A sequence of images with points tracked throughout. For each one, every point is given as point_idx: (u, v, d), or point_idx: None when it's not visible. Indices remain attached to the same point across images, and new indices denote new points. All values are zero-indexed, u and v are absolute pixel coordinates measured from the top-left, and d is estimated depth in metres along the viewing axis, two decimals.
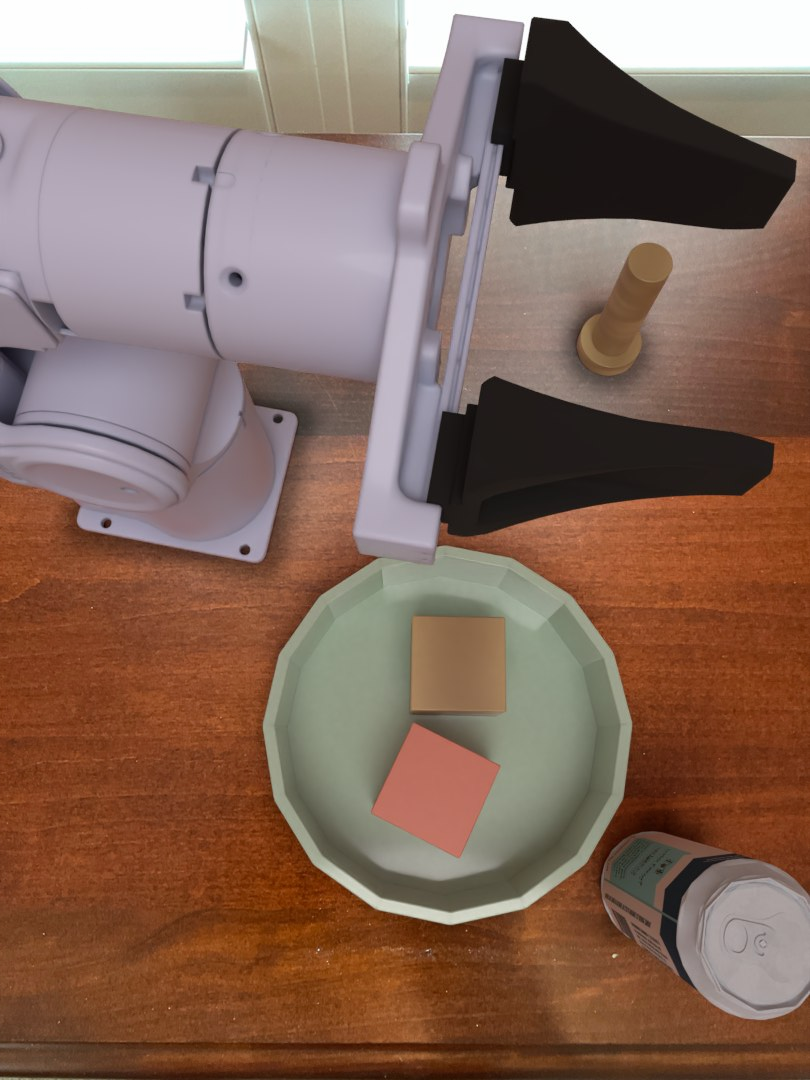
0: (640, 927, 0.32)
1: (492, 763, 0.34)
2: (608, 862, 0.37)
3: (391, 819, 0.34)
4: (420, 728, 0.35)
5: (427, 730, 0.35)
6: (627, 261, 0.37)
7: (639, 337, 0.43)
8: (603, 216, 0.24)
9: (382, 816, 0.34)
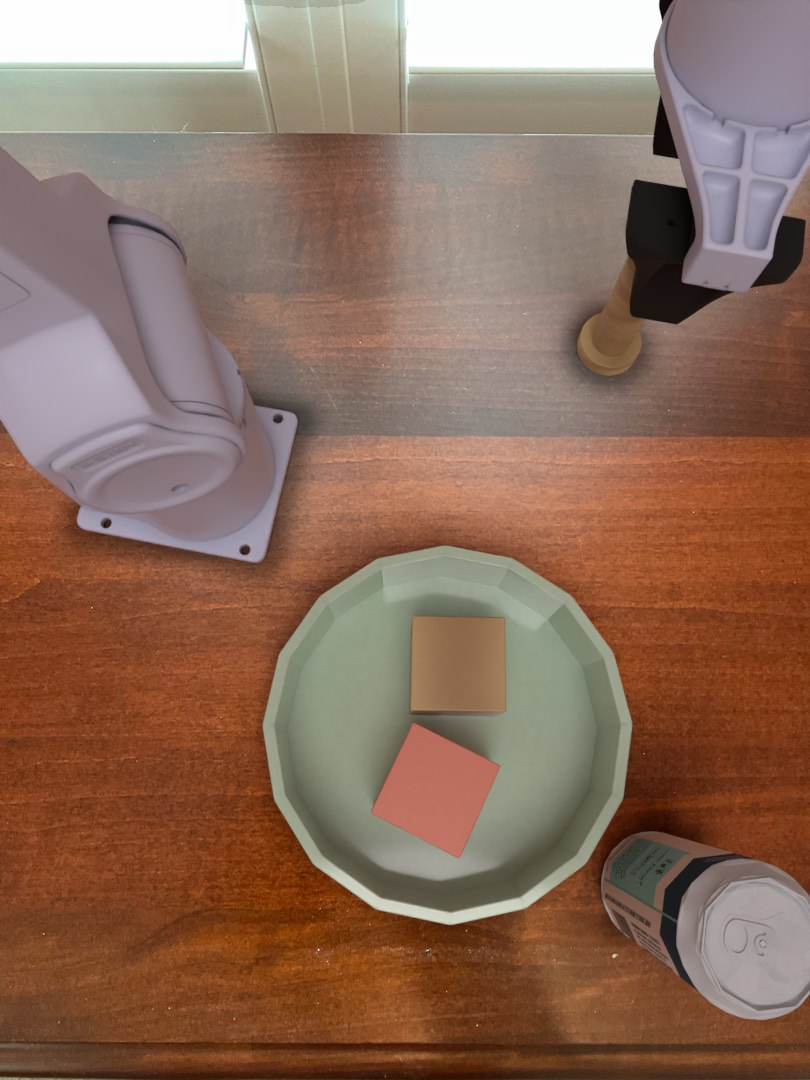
0: (640, 927, 0.32)
1: (492, 763, 0.34)
2: (608, 862, 0.37)
3: (391, 819, 0.34)
4: (420, 728, 0.35)
5: (427, 730, 0.35)
6: (627, 261, 0.37)
7: (639, 337, 0.43)
8: None
9: (382, 816, 0.34)
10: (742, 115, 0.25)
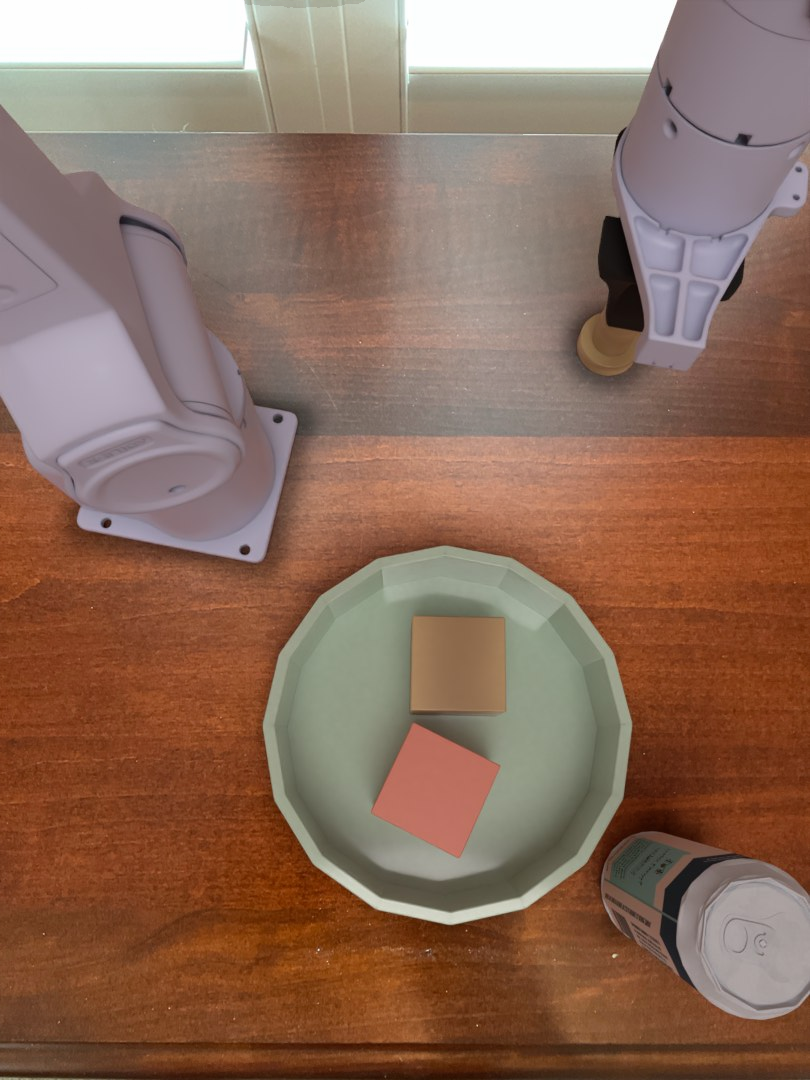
0: (640, 927, 0.32)
1: (492, 763, 0.34)
2: (608, 862, 0.37)
3: (391, 819, 0.34)
4: (420, 728, 0.35)
5: (427, 730, 0.35)
6: None
7: None
8: None
9: (382, 816, 0.34)
10: (682, 227, 0.30)
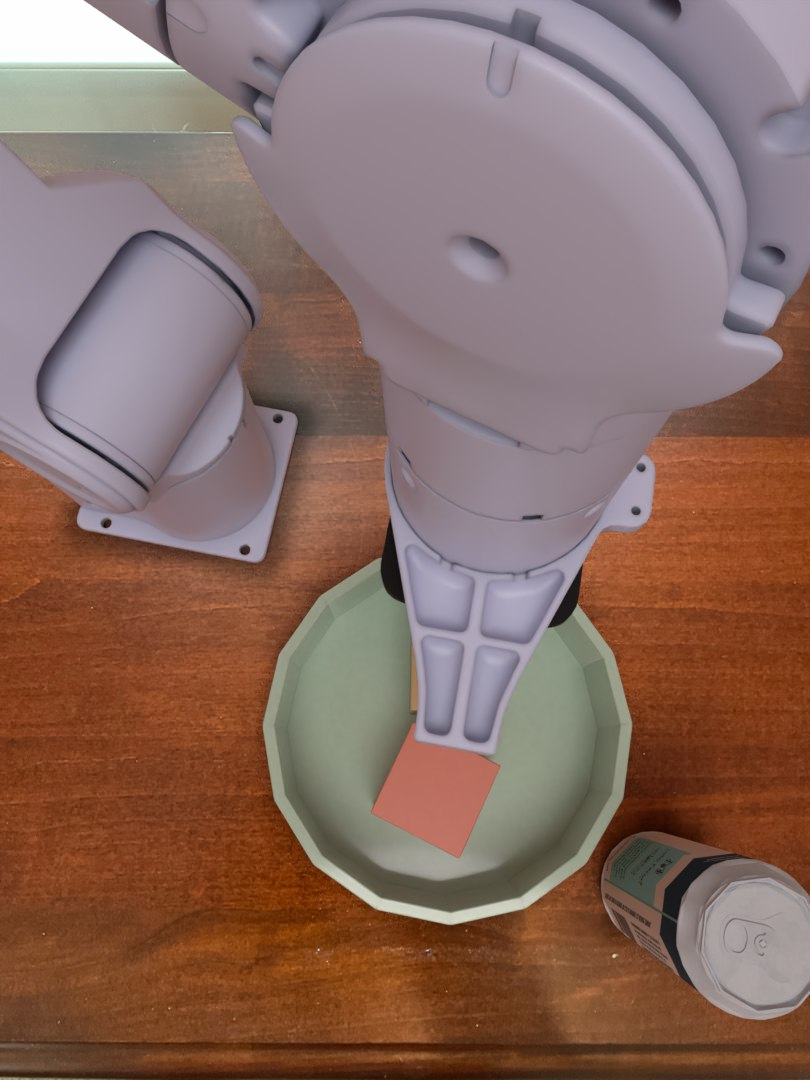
0: (640, 927, 0.32)
1: (492, 763, 0.34)
2: (608, 862, 0.37)
3: (391, 819, 0.34)
4: None
5: None
6: None
7: None
8: None
9: (382, 816, 0.34)
10: (469, 565, 0.21)
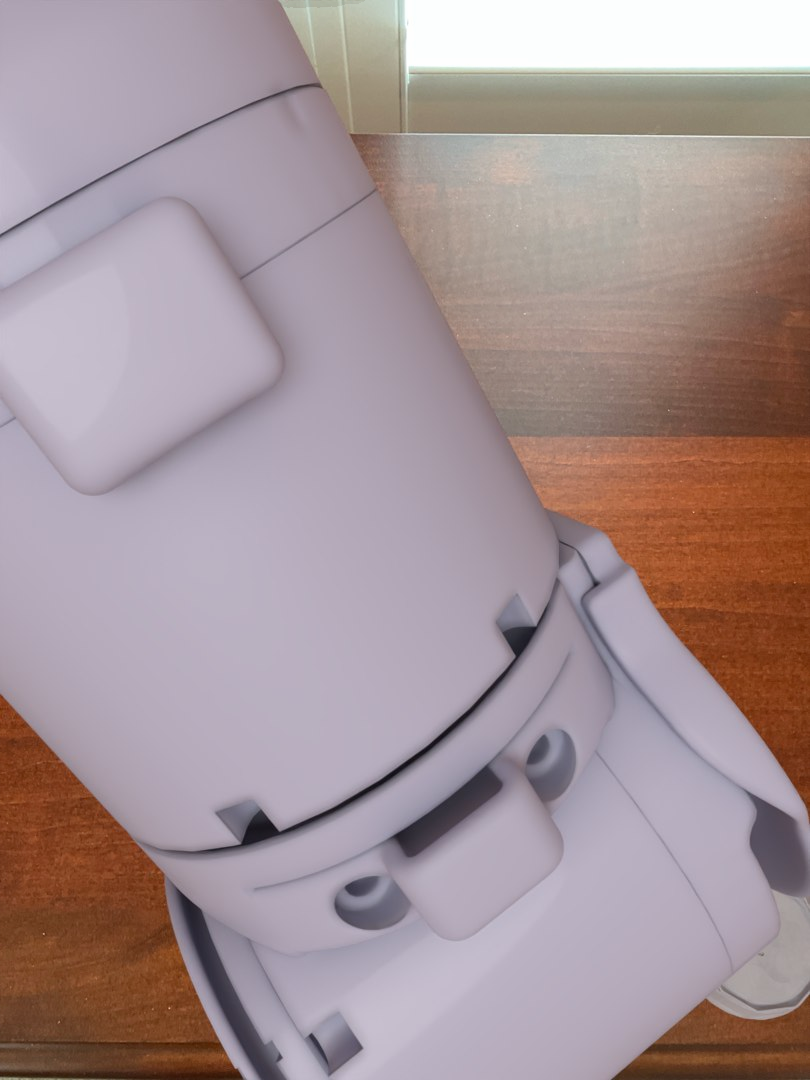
0: None
1: None
2: None
3: None
4: None
5: None
6: None
7: None
8: None
9: None
10: None
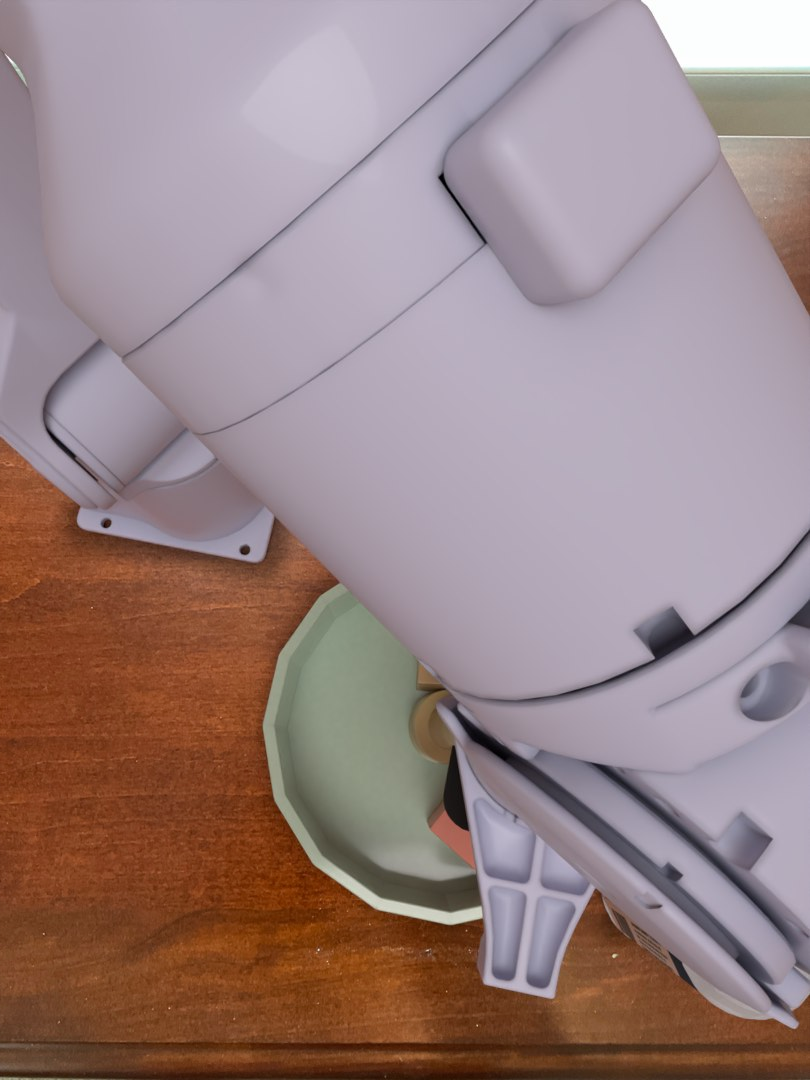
0: (640, 927, 0.32)
1: None
2: None
3: (448, 841, 0.34)
4: None
5: None
6: None
7: None
8: None
9: (440, 835, 0.34)
10: None
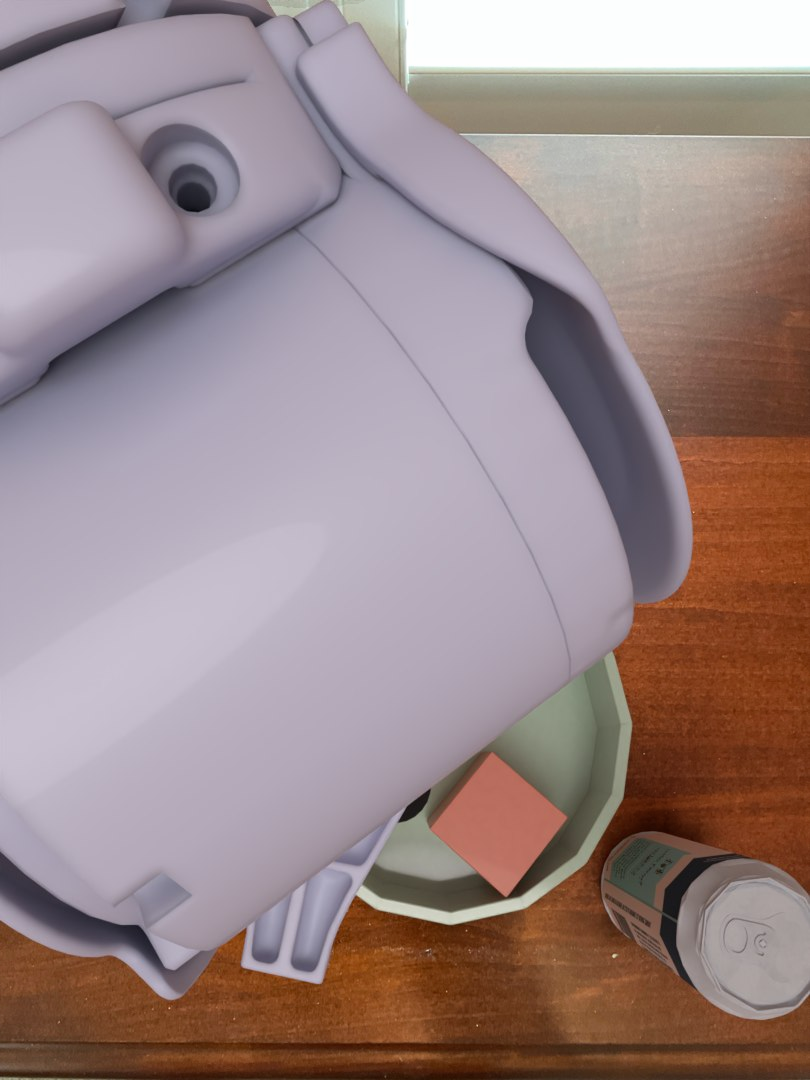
0: (640, 927, 0.32)
1: (560, 812, 0.34)
2: (608, 862, 0.37)
3: (448, 841, 0.34)
4: (497, 759, 0.34)
5: (503, 763, 0.34)
6: None
7: None
8: None
9: (440, 835, 0.34)
10: None
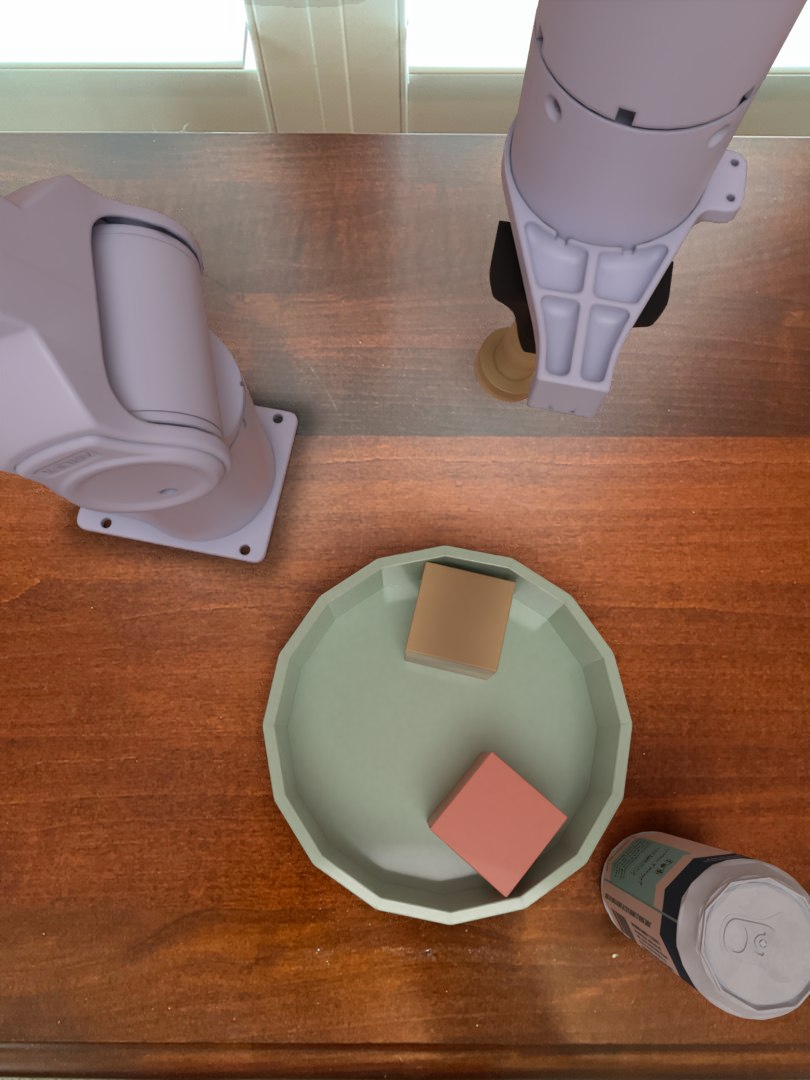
0: (640, 927, 0.32)
1: (560, 812, 0.34)
2: (608, 862, 0.37)
3: (448, 841, 0.34)
4: (497, 759, 0.34)
5: (503, 763, 0.34)
6: None
7: (500, 386, 0.37)
8: None
9: (440, 835, 0.34)
10: (584, 235, 0.23)
